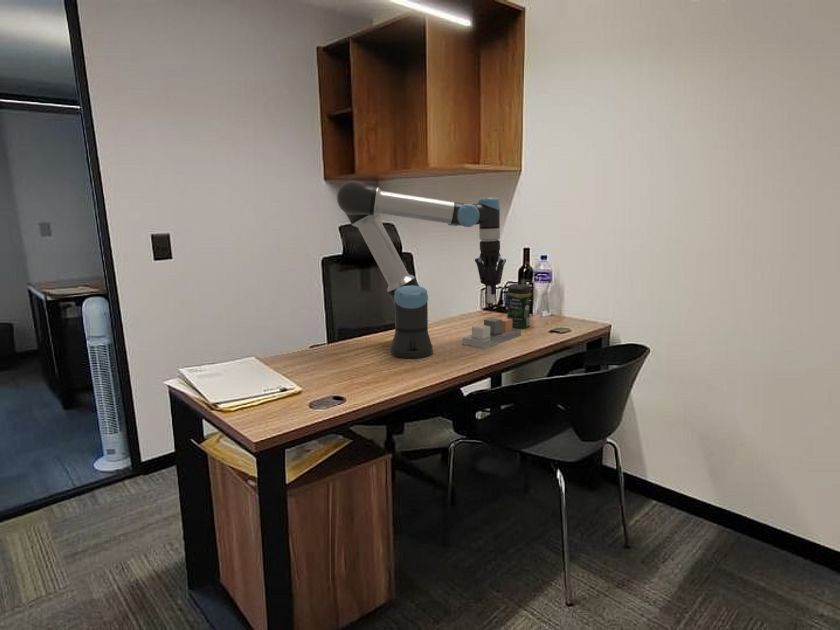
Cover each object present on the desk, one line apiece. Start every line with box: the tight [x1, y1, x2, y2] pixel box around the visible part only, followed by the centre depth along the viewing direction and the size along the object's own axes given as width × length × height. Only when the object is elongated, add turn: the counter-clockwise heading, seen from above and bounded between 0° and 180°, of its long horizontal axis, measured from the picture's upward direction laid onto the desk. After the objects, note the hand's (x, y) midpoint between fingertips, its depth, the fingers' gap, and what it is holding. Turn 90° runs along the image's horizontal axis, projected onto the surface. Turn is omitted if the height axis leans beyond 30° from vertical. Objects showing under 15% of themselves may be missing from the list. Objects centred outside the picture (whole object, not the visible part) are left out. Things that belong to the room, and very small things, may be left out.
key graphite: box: [483, 317, 502, 334], centre depth 201 cm, size 5×5×5 cm
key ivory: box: [471, 324, 490, 340], centre depth 196 cm, size 5×5×5 cm
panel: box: [462, 327, 522, 349], centre depth 202 cm, size 26×10×2 cm, turn 139°
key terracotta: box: [498, 317, 513, 332], centre depth 208 cm, size 5×5×5 cm
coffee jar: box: [506, 283, 532, 329], centre depth 222 cm, size 10×8×19 cm
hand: (490, 302), depth 197 cm, fingers closed
